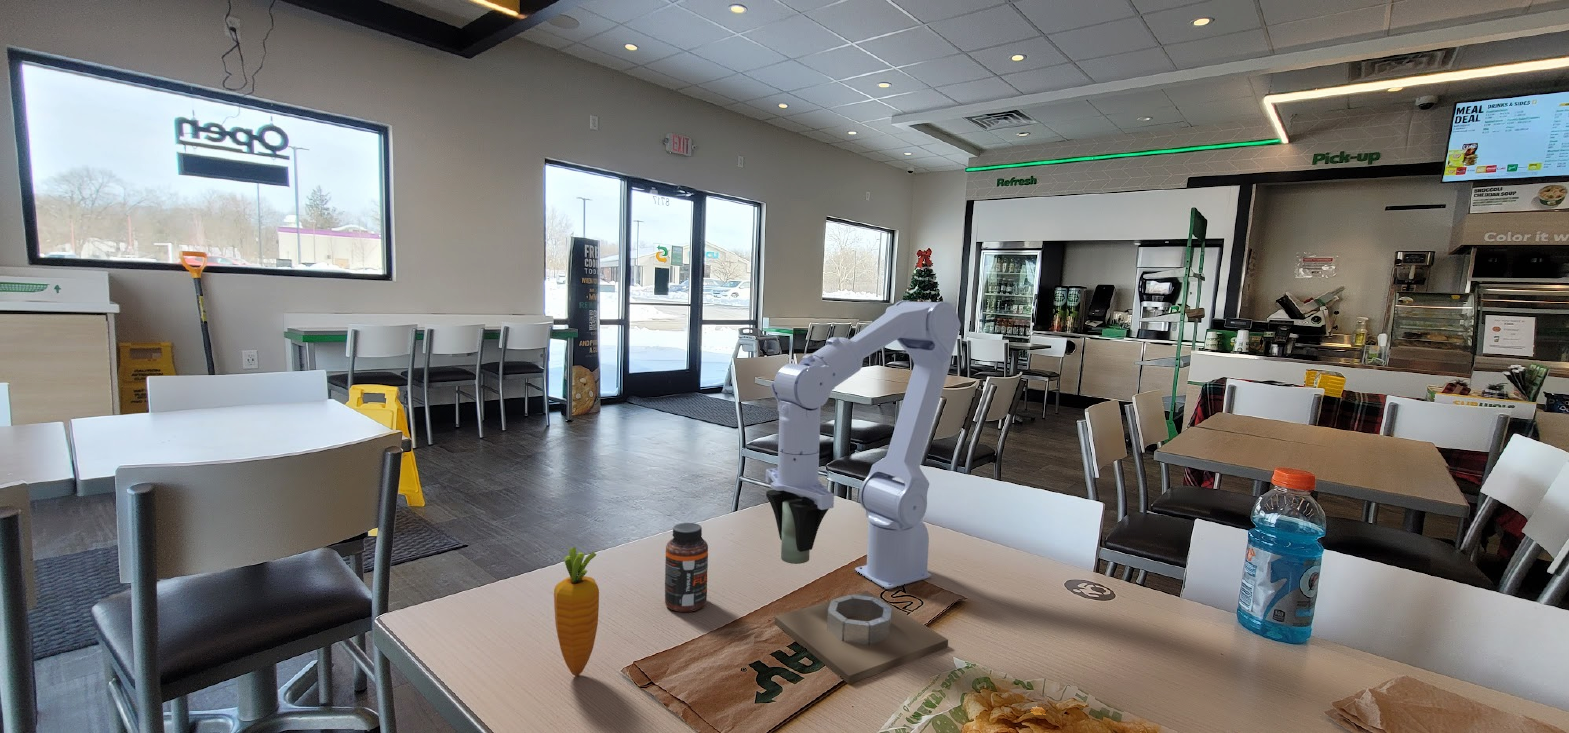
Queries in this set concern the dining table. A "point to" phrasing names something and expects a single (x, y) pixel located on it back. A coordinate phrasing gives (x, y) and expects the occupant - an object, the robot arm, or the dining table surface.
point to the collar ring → (854, 628)
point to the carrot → (576, 612)
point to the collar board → (859, 658)
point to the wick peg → (790, 537)
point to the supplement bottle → (686, 568)
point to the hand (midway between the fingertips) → (795, 544)
